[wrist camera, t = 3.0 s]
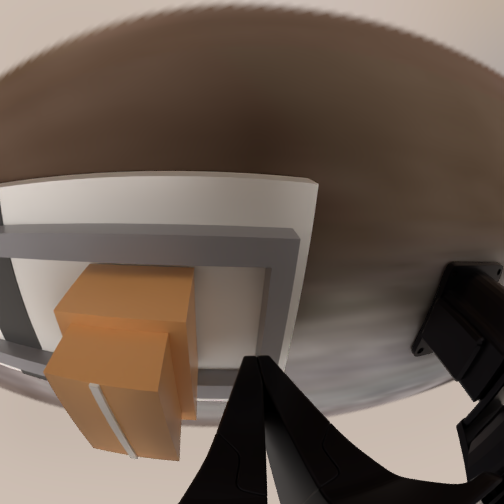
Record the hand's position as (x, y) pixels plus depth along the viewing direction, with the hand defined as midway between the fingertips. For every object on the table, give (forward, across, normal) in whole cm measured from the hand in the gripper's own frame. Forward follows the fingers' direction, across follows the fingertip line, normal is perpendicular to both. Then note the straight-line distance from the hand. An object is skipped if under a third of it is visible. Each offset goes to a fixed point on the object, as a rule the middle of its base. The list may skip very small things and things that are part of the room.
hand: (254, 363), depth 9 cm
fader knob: (+2, +4, 0) cm, 5 cm away
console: (+4, +8, 0) cm, 9 cm away
